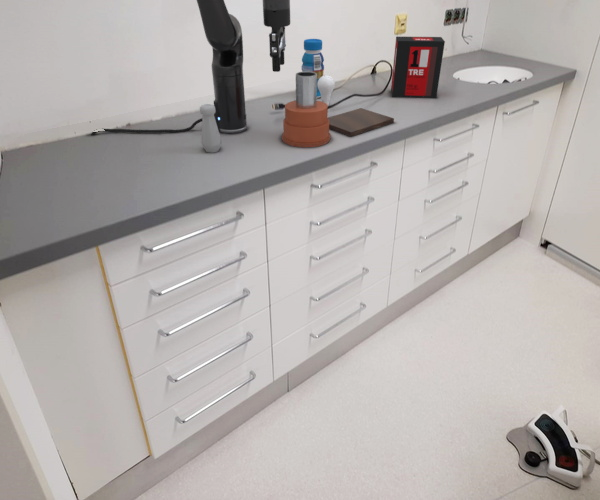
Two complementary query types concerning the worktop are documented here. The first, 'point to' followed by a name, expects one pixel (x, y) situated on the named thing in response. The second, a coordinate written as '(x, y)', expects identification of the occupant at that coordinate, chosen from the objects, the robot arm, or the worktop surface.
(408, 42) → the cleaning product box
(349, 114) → the board
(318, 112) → the terracotta flower pot
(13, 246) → the worktop surface
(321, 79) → the lightbulb
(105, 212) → the worktop surface
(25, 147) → the worktop surface
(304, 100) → the steel cup
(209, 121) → the salt shaker
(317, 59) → the beverage bottle
